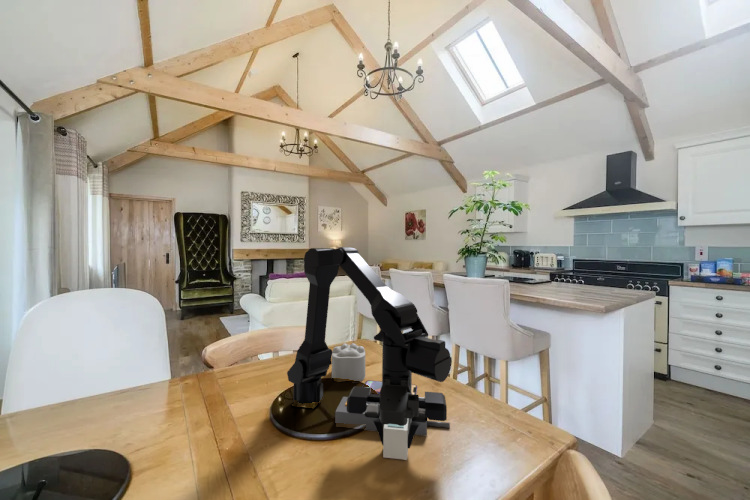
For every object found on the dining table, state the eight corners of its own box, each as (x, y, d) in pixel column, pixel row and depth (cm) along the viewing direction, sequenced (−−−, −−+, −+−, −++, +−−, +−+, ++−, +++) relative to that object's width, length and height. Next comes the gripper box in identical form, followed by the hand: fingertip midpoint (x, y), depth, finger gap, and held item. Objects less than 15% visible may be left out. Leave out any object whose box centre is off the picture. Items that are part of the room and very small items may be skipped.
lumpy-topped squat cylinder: (330, 382, 93) (330, 353, 93) (333, 365, 106) (333, 340, 106) (365, 382, 94) (366, 352, 94) (364, 365, 107) (364, 339, 107)
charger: (383, 457, 60) (383, 427, 60) (387, 436, 67) (387, 409, 67) (407, 459, 59) (407, 429, 59) (408, 438, 66) (408, 411, 66)
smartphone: (366, 382, 94) (417, 387, 91) (360, 393, 87) (415, 399, 84) (366, 379, 94) (417, 384, 91) (360, 390, 87) (415, 395, 84)
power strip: (335, 427, 70) (335, 410, 70) (343, 410, 77) (343, 395, 77) (451, 438, 67) (451, 420, 66) (448, 420, 73) (448, 403, 73)
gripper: (339, 380, 55) (338, 469, 55) (449, 388, 52) (448, 481, 53) (353, 357, 66) (352, 432, 66) (444, 363, 63) (443, 440, 64)
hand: (396, 445), depth 62 cm, fingers closed on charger, 4 cm apart
